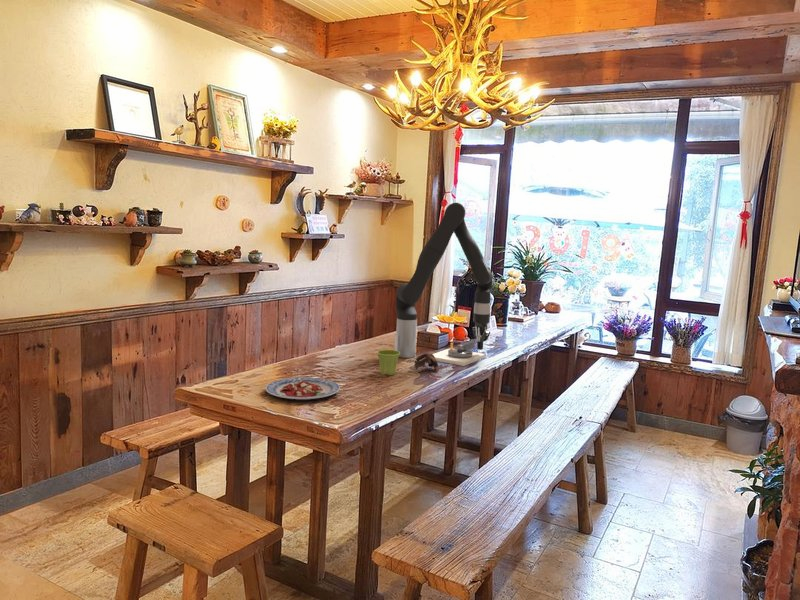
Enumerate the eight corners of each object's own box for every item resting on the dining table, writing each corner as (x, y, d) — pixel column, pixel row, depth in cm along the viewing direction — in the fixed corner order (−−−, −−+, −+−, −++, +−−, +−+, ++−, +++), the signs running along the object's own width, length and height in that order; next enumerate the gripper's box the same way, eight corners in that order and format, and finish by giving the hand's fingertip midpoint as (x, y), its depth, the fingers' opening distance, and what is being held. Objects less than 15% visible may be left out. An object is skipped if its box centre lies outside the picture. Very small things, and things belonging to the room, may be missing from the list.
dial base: (463, 366, 254) (464, 355, 253) (427, 359, 263) (427, 349, 263) (485, 357, 272) (485, 347, 271) (450, 351, 282) (450, 342, 281)
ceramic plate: (251, 391, 206) (251, 382, 206) (311, 379, 224) (311, 371, 224) (293, 409, 188) (293, 400, 187) (354, 395, 206) (354, 387, 205)
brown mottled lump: (438, 375, 238) (428, 358, 236) (418, 382, 242) (409, 366, 240) (444, 362, 248) (435, 345, 247) (425, 369, 252) (416, 353, 251)
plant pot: (385, 377, 230) (386, 355, 229) (371, 372, 237) (372, 351, 236) (404, 374, 236) (404, 353, 235) (389, 369, 243) (390, 348, 242)
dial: (465, 359, 259) (466, 349, 258) (443, 355, 265) (444, 345, 264) (482, 352, 274) (483, 342, 273) (461, 348, 280) (462, 339, 279)
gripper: (496, 314, 263) (494, 352, 266) (481, 309, 275) (479, 346, 278) (482, 315, 260) (480, 353, 263) (467, 310, 273) (465, 346, 275)
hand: (479, 349), depth 270 cm, fingers closed
